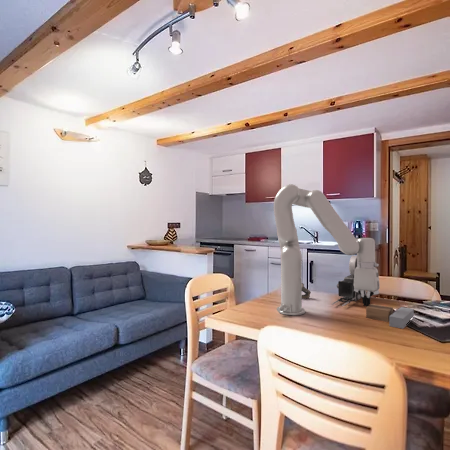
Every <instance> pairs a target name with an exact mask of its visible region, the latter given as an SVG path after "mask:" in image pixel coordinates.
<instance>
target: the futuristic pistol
mask: <svg viewBox="0 0 450 450" xmlns="http://www.w3.org/2000/svg"><path fill="white" fill-rule="evenodd" d="M302 293H304V294H302V298H305V299H310V297H311V291H310V290H309V289H308V288H307V287H305V283H304V282H302Z"/></svg>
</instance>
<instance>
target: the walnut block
mask: <svg viewBox="0 0 450 450" xmlns="http://www.w3.org/2000/svg"><path fill="white" fill-rule="evenodd" d="M393 313H394V307H392V306H385V305H381V304H380V305H379V304H374V303H370V305H369V306H365V318H366V319H371V320H376V321H382V322H387V323H389V316H390V315H392V314H393Z"/></svg>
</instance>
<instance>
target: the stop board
mask: <svg viewBox="0 0 450 450" xmlns="http://www.w3.org/2000/svg"><path fill="white" fill-rule="evenodd" d="M414 312H415V308H409V307H404V306H401V307H399V308H398V309H396V310H395V311H393V314H392V315H390V316H389V322H388V323H389V325H388V326H389V327H393V328H396V329H397V328H399V329H402V330H403V329H405V327H406V326H407V325H408V324H409V323H410V322H409V320H410V319H411V318H412V317H413V316H414V315H415V313H414ZM408 322H409V323H408ZM407 323H408V324H407ZM406 324H407V325H406Z"/></svg>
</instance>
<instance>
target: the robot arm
mask: <svg viewBox="0 0 450 450" xmlns="http://www.w3.org/2000/svg"><path fill="white" fill-rule="evenodd" d="M293 205H294V206H299V207H303V208H308V209H310V210H311V211H312V213H313V215H315V217H316V218H317V219H318V221H319V224H321V226H322V227H323V229H325V230H326V231H327V232H328V233H329V234H330V235H331V237H333V239H334V240H335V241H336V243H337V247H338V249H339V251H340V252H342V253H343V254H345V255H347V256H357V267H356V269H355V274H354V291H356V292H359V293H360V295H361V296H362V298H361V299H362V305H363V307H367V306H369V305H370V304H371V297H372V296H373V295H379V294H380V277H379V276H380V275H379V270H378V267H380V266H379V265H380V264H379V263H377V262H376V240H375V239H374V238H373V237H372V238H371V237H360V238H356V237H355V236H354V234H353V232H352V231H351V229H350V228H349V227H348V225H347V224H346V223H345V222H344V221H343V219H342V217H340V215H339V214H338V212H337V211H336V209H335V208H334V207H333V205H332V204H331V202H330V201H329V199H328V198H327V197H326V195H325V194H324V193H323V192H322V191H321V190H319V189H314V190H309V189H303V188H299V187H298V185H296V184H291V183H290V184H286V185H285V186H283V187H282V188H281V189H279V190H278V192H277V194H276V195H275V197H274V200H273V214H274V222H275V226H276V227H275V228H276V235H277V238H278V239H277V240H278V244H279V249H280V285H281V286H280V288H281V289H280V293H281V295H280V298H281V299H280V300H281V301H280V302H281V303H280V306H277V308H276V311H277V312H278V313H279V314H282V315H285V316H300V315H304V314H305V313H306V309H305V308H304V307H302V306H303V304H302V303H303V301H302V300H303V299H302V295H303V294H302V293H303V291H302V283H303V281H302V264H303V263H302V262H303V261H302V258H303V256H302V252H301V248H300V242H299V236H298V231H297V230H298V229H297V227H296V226H295V225H296V224H295V221H294V214H293Z"/></svg>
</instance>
